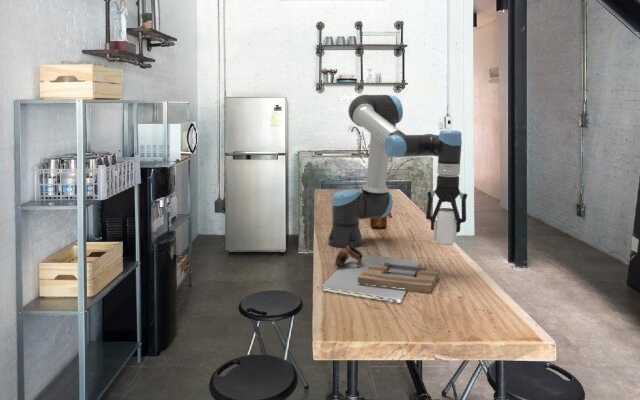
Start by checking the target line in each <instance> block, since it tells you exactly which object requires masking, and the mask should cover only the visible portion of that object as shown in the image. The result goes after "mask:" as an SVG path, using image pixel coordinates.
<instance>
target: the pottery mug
mask: <svg viewBox="0 0 640 400" xmlns="http://www.w3.org/2000/svg"><path fill="white" fill-rule="evenodd" d="M363 256H364V255H363V254H362V253H361V252H360V251H359V250H358V249H357V248H356V247H351V246H347V247H346V248H342V249H340V251H339V252H338V254H337V255H336V258H335V259H336V260H335V262H334V264H335V266H336V267H340V266H341V267H344V266H345V264H346V261H347V259H348V258H349V257H351V258H352V259H355V260H357V264H356V266H358V265H360V266H361V264H362V261H363V259H362V258H364V257H363Z"/></svg>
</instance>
